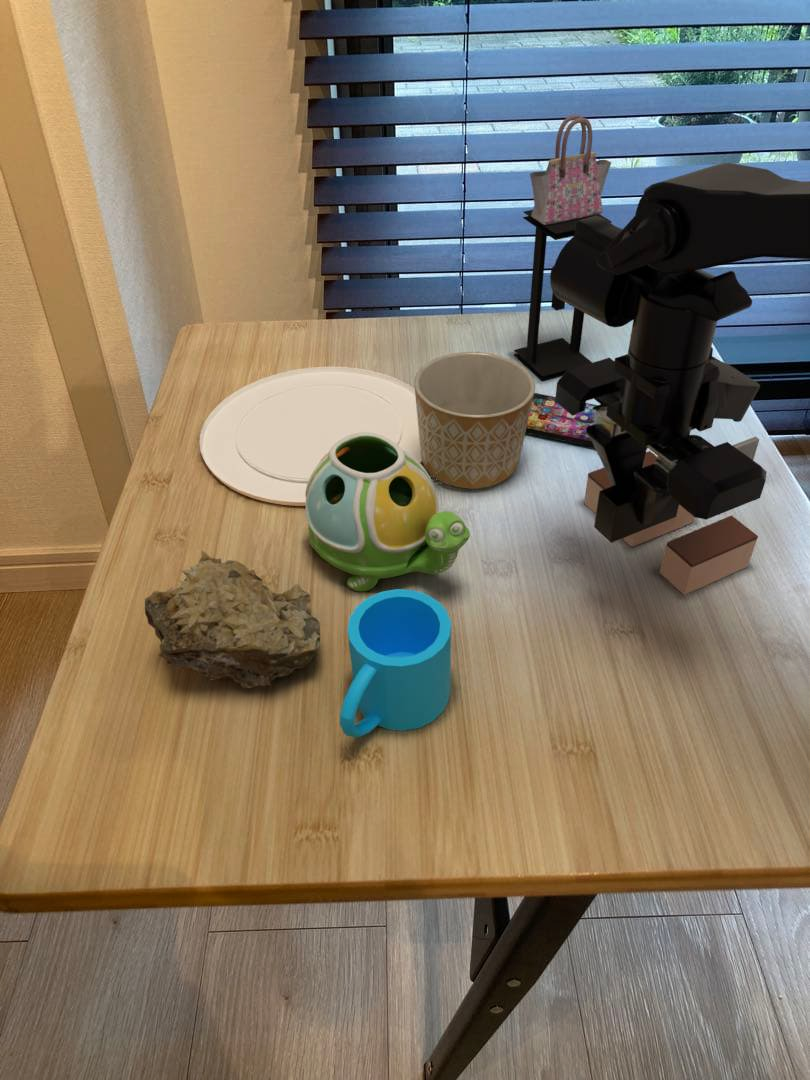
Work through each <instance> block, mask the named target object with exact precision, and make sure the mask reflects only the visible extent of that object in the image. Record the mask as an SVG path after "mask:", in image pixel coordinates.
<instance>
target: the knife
mask: <svg viewBox="0 0 810 1080" xmlns="http://www.w3.org/2000/svg"><path fill="white" fill-rule="evenodd" d="M759 443H760V438H759V437H757V436H754V437H751V438H747V439H745V440H742V441H741V442H738V443H735V444H731V445H732V446H734V447H735V448H737V449H738V450H739V451H741V452H742V453H744V454H745V455H746V456H748V457H749V458H751V459H752V460H753V461H755V460H754V459H755V456H756V452H757V449H758V446H759ZM680 506H681V505H679V504H678V503H677V502H676V501H675V500H673V499H672V498H670V500H669V501H668V502H667V504H666V505H665V506H664V507H663V509H662V510H661V511H660V512H659V514H658V515H657V516H656V518H655V519H654V520H653V521H652V522H651V523H648V524H646V525H642V524H641V523H640V521H639V516H638V511H637V499H636V487H635V478H633V479H630V480H628V481H625V482H622V483H620V484H617V485H614V486H612V487H609V488H606V489H604V490H601V491H599V497H598V504H597V511H596V514H595V519H594V525H593V527H594V529H596V530H597V532H599V534H601V535H602V536H603V538H605V539H606V540H607V541H608V543H610V544H611V543H615V542H617V541H620V540H623V539H622V538H625V537H627V536H630V535H632V534H635V533H637V532H640V531H642V530H645V529H647V528H650V527H652V526H655V525H657V524H660V523H662V522H665V521H667V520H670V519H672V518H675V517H676V515H677V511H678V507H680Z"/></svg>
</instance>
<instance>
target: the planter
mask: <svg viewBox="0 0 810 1080" xmlns="http://www.w3.org/2000/svg"><path fill="white" fill-rule="evenodd" d="M413 382H414V383H413V384H414V389H415V397H416V408H417V419H418V429H419V440H420V451H421V459H422V464H423V467H424V468H425V470H426V471H427V473H428V474H430V475H431V476H432V477H433V478H435V479H436V480H438V481H439V482H442V483H444V484H446V485H449V486H452V487H456V488H460V489H484V488H488V487H492V486H495V485H497V484H501V483H502V482H504V481H505V480H507V479H508V478H509V477H510V476H511V475H513V473H514V472H515V470H516V469H517V467H518V465H519V462H520V458H521V454H522V449H523V445H524V441H525V436H526V433H525V432H526V427H527V423H528V419H529V414H530V410H531V406H532V401H533V397H534V393H536V382H535V380H534V378H533V375H532V374H531V373H530V372H529V370H527V368H525V366H523V365H521V364H520V363H518V362H517V361H515V360H512V359H511V358H508V357H505V356H502V355H498V354H494V353H489V352H483V351H482V352H479V351H464V352H463V351H461V352H454V353H449V354H445V355H441V356H438V357H436V358H434V359H432V360H430V361H428V362H427V363H425V364H424V365H423V366H421V367H420V368H419V370H418V371H417V372H416V374H415V376H414V381H413Z"/></svg>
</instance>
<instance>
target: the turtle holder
mask: <svg viewBox="0 0 810 1080" xmlns="http://www.w3.org/2000/svg"><path fill="white" fill-rule="evenodd" d="M305 496H306V506H305V507H304V508H305V516H306V521H307V523H308V524H307V525H308V526H307V527H308V536H309V545H310V546H311V547H312V549H314V550H315V552H316V553H317V554H318V555H319V556H320V557H321V558H322V559H323V560H325V561H326V562H327V563H329V564H330V565H331V566H333V567H335V568H336V569H339V570H341V571H343V572H345V573H348V574H351V575H352V576H350V577H349V578H348V579H347V580H346V583H347V586H348V588H349V589H350V590H353V591H356V592H369V591H370V590H372V589H374V588H375V587H376V585H377V584H378V582H379V580H380V579H389V578H393V577H398V576H402V575H405V574H409V573H415V572H418V573H423V574H428V575H436V574H441V573H445V572H446V571H448V570H449V569H450V568H452V567H453V566H454V564H455V562H456V559H457V557H458V554H459V550H460V549H462V547H463V546H464V545H465V544H466V543H467V542H468V541H469V539H470V536H471V532H470V530H469V529H468V527H467V526H466V524H465V522H464V520H463V519H462V518H460V517H459V516H458V515H457V514H456V513H455V512H452V511H450V510H443V511H440V507H439V499H438V497H437V489H436V487H435V485H434V483H433V480H432V478H431V476H430V475H429V472H428V471H427V469H426V468H425V466H424V465H422V464H420V463H419V462H418V461H417V460H415V459H414V458H413V457H412V456H410V455H409V454H407V453H406V452H404V451H403V450H402V449H401V448H400V447H399V446H398V445H397V444H396V443H394V442H393V441H391V440H389V439H388V438H386V437H384V436H382V435H379V434H376V433H372V432H361V433H356V434H352V435H349V436H347V437H344V438H343V439H341V440H339V441H338V442H337V443H335V444H334V445H333V446H332V447H331V449H330V451H329V452H328V453H327V454H326V455H325V456H324V457H323V458H322V459H321V461H320V462H319V464H318V465H317V467H316V468H315V469H314V471H313V473H312V474H311V476H310V479H309V481H308V484H307V487H306V492H305ZM439 511H440V512H439Z"/></svg>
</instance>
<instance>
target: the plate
mask: <svg viewBox="0 0 810 1080" xmlns="http://www.w3.org/2000/svg"><path fill="white" fill-rule="evenodd" d="M361 432H372V433H376V434H379V435H382V436H384V437H386V438H388V439H389V440H391V441H393V442H394V443H396V444H397V445H398V446H399V447H400V448H401V449H402V450H403V451H404V452H406V453H407V454H409V455H410V456H412V457H413V458H414V459H415V460H417V461H418V462H419V463H420V464H421V465H422V464H423V462H422V459H421V451H420V440H419V429H418V419H417V408H416V397H415V387H413V386H411V385H409V384H408V383H406V382H404V381H403V380H401V379H398V378H396V377H393V376H392V375H391V376H390V375H389V374H386V373H383V372H378V371H374V370H369V369H364V368H360V367H359V368H358V367H349V366H314V367H304V368H298V369H293V370H287V371H283V372H278V373H275V374H272V375H268V376H265V377H263V378H260V379H258V380H255V381H252V382H251V383H247V384H246V385H244V386H243V387H241V388H239V389H237V390H236V391H234V392H232V393H231V394H229V395H228V396H227V397H225V398H224V399H222V400H221V402H220V403H218V404H217V405H216V406H215V407H214V408H213V410H212V411H211V412H210V413H209V414H208V416H207V417H206V419H205V421H204V423H203V425H202V427H201V431H200V435H199V450H200V454H201V457H202V459H203V461H204V463H205V465H206V466H207V468H208V469H209V471H210V472H211V473H212V474H213V476H214V477H215V478H217V479H218V480H219V481H220V482H221V483H222V484H224V485H225V486H226V487H228V488H229V489H231V490H233V491H235V492H237V493H239V494H241V495H244V496H246V497H249V498H251V499H254V500H258V501H261V502H265V503H271V504H274V505H283V506H296V507H306V496H305V492H306V487H307V484H308V481H309V479H310V476H311V474H312V473H313V471H314V469H315V468H316V467H317V465H318V464H319V462H320V461H321V459H322V458H323V457H324V456H325V455H326V454H327V453H328V452H329V451H330V449H331V447H332V446H333V445H334V444H335V443H337V442H338V441H339V440H341V439H343V438H344V437H347V436H349V435H352V434H356V433H361Z"/></svg>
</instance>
